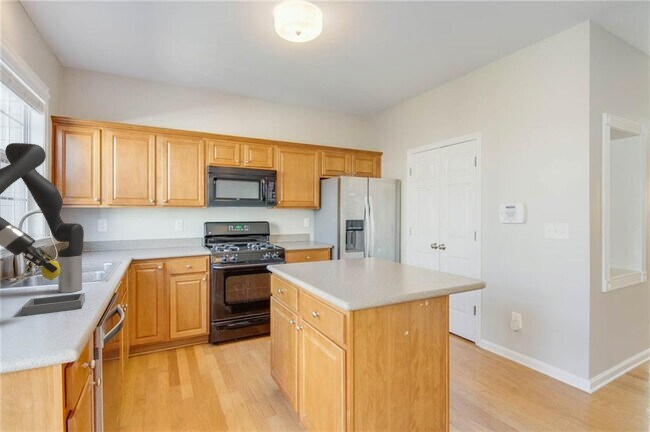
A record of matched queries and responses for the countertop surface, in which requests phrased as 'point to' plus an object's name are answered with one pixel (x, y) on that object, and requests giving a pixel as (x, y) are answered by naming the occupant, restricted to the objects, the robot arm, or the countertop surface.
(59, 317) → the countertop surface
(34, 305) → the tray
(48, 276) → the lemon
